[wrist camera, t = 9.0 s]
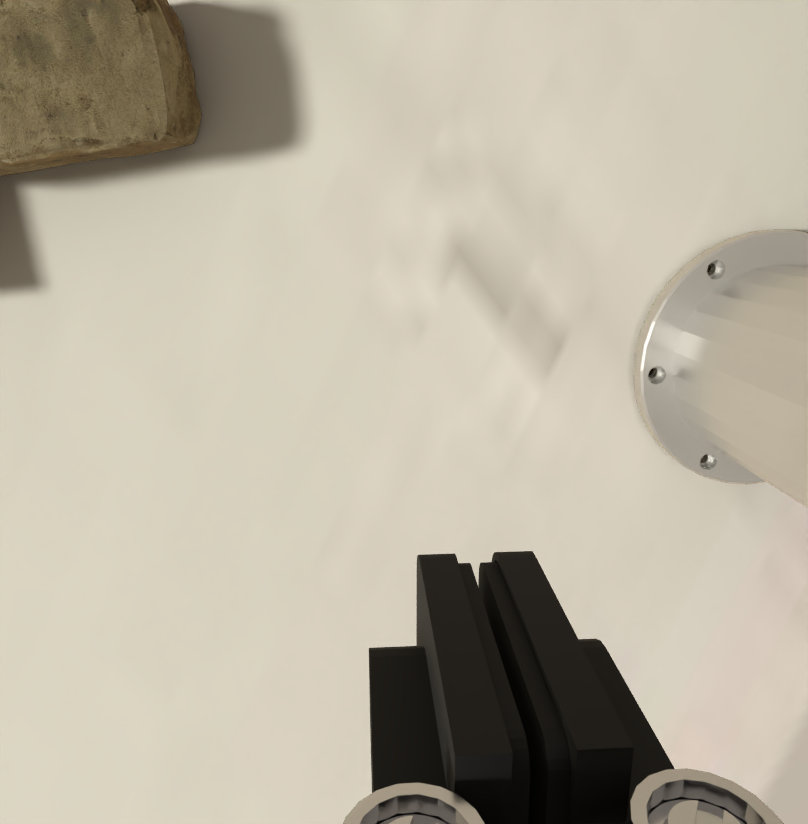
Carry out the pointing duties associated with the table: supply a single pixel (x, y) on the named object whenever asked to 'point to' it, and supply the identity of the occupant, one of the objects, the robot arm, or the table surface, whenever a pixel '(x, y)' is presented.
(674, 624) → the table surface
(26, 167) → the stone block
